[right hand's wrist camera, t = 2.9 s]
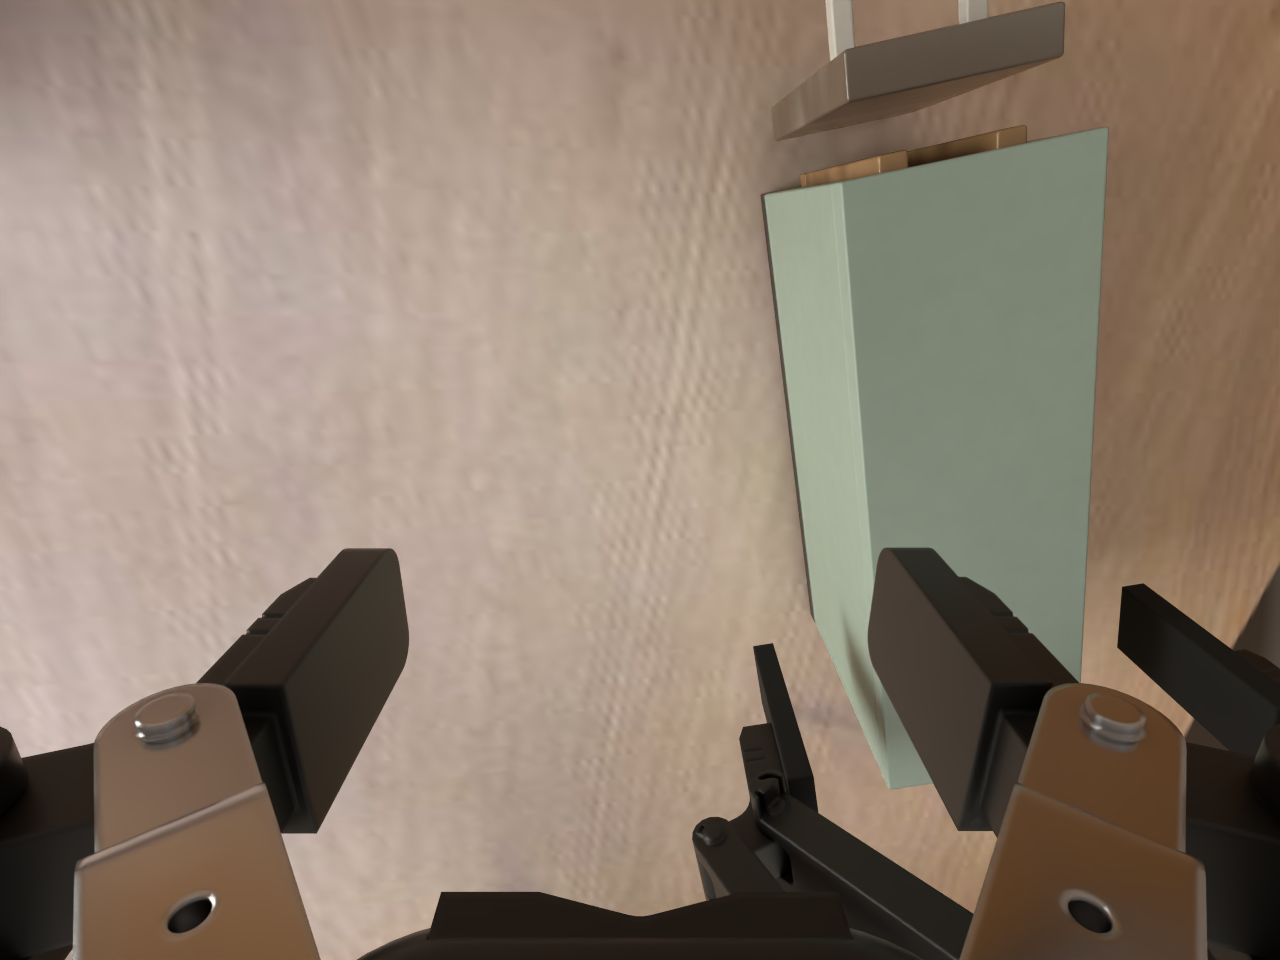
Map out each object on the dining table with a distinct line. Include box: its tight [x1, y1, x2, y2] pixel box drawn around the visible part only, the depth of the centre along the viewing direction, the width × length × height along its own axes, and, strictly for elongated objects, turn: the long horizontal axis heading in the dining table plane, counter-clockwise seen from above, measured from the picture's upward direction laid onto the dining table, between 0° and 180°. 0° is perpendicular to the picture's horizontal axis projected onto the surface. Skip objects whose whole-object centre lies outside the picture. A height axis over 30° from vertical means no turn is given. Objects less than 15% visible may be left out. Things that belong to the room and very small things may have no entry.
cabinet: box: [761, 127, 1109, 790], centre depth 26 cm, size 20×7×12 cm, turn 11°
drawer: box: [771, 0, 1065, 187], centre depth 24 cm, size 25×5×10 cm, turn 11°
